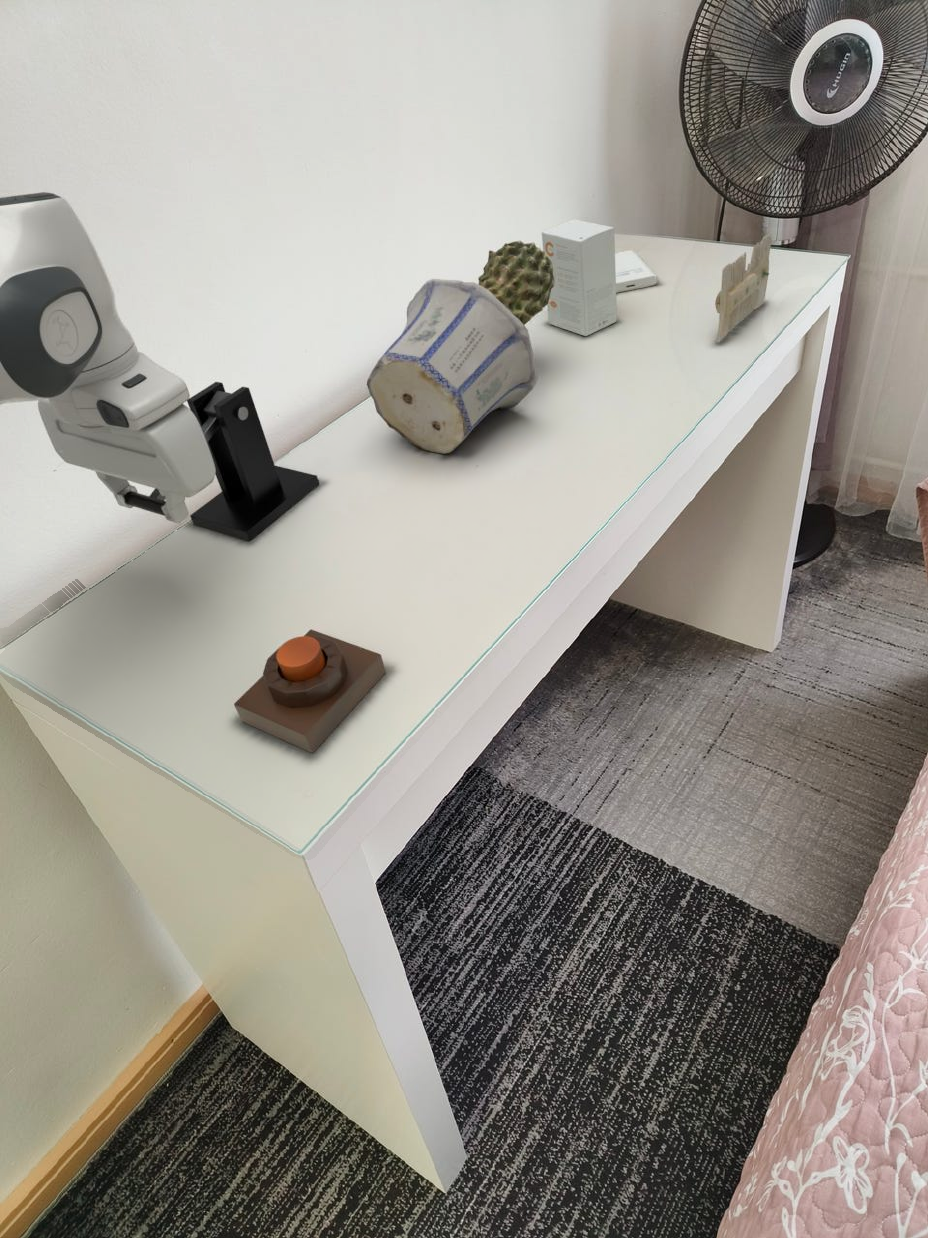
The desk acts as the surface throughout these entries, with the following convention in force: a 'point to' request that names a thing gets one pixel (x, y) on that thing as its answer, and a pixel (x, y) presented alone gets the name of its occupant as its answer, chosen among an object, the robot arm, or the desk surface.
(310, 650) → the button
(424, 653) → the desk surface
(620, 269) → the hard drive
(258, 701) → the button block
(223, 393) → the lever
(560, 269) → the small box
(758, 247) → the wooden plank panel
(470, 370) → the potted plant
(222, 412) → the bracket
